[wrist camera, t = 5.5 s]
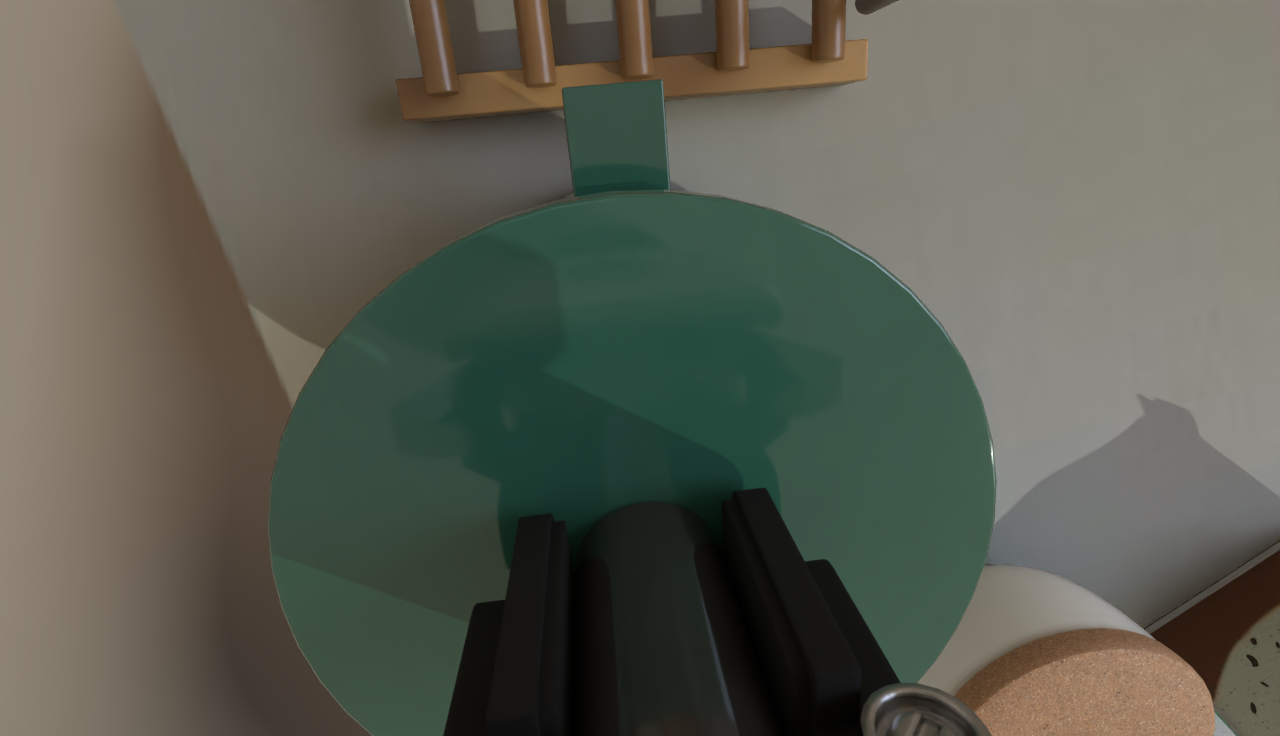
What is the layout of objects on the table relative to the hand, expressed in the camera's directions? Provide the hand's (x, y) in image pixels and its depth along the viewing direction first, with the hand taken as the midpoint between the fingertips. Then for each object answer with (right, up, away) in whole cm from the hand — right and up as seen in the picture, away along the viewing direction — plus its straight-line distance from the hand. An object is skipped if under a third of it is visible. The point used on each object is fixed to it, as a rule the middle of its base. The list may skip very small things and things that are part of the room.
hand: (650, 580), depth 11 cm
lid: (0, 0, +1) cm, 1 cm away
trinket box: (+16, -8, +20) cm, 27 cm away
